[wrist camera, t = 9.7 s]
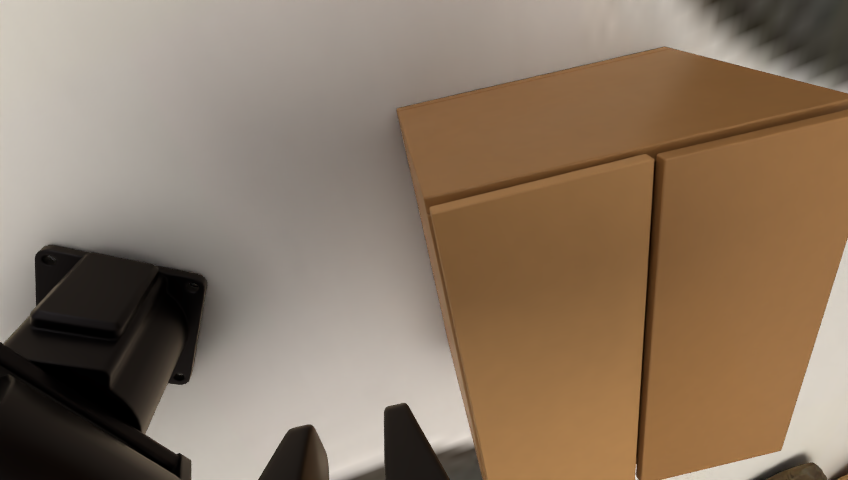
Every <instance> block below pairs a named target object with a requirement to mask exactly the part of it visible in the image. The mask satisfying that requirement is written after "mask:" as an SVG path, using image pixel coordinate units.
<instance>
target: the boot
mask: <svg viewBox="0 0 848 480" xmlns="http://www.w3.org/2000/svg"><path fill="white" fill-rule="evenodd" d="M837 480H848V474H847V475H845V476H842V477H840V478H839V479H837Z"/></svg>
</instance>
